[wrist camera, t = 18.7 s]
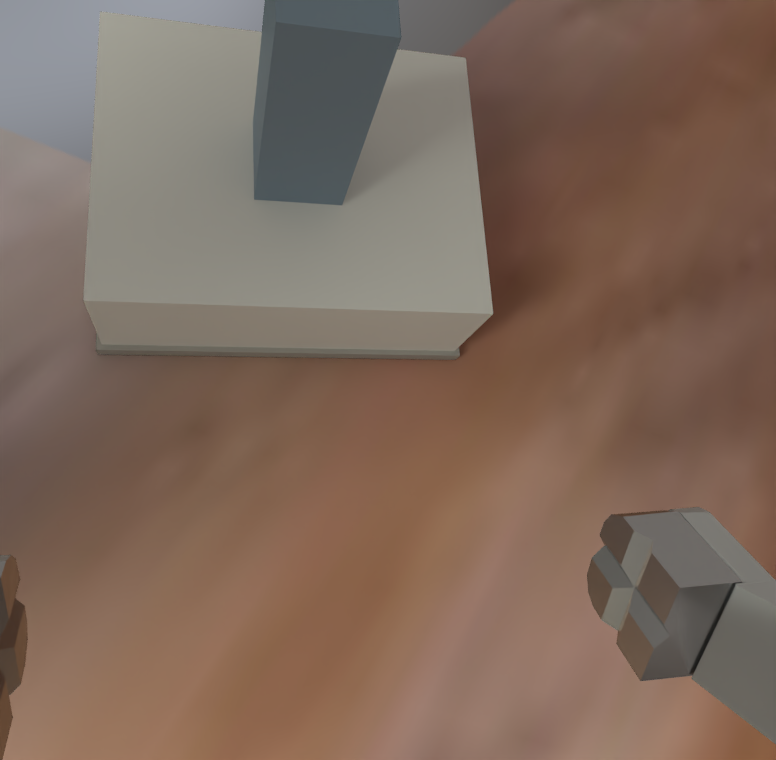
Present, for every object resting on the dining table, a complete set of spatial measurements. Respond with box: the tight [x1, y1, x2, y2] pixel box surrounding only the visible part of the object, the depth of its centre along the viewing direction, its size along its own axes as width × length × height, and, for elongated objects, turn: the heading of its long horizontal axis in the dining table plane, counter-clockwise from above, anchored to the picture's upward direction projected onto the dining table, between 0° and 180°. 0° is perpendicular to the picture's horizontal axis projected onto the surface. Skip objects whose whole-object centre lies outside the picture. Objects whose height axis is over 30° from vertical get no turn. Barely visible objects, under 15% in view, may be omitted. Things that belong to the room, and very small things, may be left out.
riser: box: [83, 12, 493, 360], centre depth 40 cm, size 21×17×7 cm
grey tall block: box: [253, 0, 401, 205], centre depth 31 cm, size 4×4×12 cm
